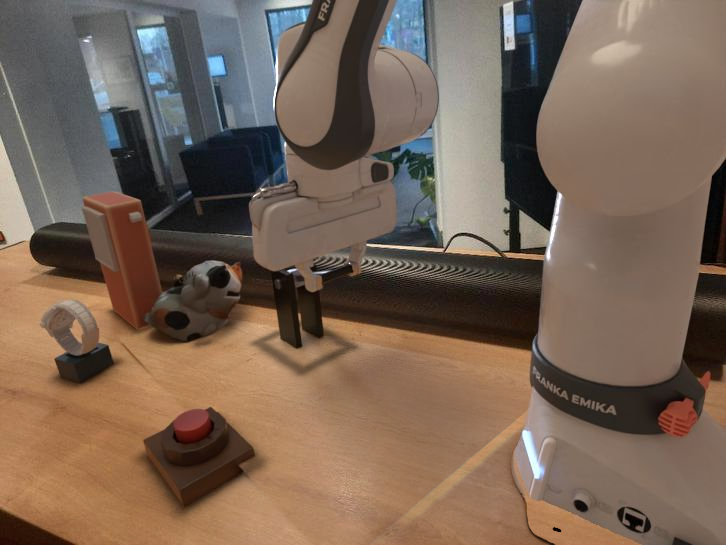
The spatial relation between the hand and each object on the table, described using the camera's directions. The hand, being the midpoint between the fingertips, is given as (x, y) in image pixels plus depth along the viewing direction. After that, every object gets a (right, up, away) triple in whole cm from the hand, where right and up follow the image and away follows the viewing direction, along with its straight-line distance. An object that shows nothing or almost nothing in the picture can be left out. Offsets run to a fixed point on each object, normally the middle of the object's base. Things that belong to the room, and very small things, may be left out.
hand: (334, 281), depth 64 cm
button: (-14, -16, -12) cm, 24 cm away
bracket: (-5, -10, +11) cm, 16 cm away
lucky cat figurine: (-23, -8, +20) cm, 31 cm away
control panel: (-36, -7, +25) cm, 45 cm away
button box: (-14, -19, -10) cm, 26 cm away
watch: (-37, -13, +9) cm, 40 cm away
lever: (-3, -1, +4) cm, 5 cm away
